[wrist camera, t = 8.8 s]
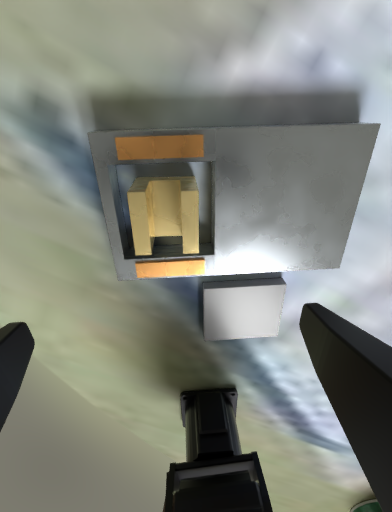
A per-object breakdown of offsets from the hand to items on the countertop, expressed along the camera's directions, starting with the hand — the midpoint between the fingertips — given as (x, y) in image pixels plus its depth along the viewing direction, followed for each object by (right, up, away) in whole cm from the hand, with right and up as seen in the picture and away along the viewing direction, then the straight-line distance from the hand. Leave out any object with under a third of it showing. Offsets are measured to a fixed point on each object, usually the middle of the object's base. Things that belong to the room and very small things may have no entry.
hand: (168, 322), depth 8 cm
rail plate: (+3, +6, +11) cm, 13 cm away
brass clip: (-1, +6, +10) cm, 12 cm away
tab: (+5, -3, +15) cm, 16 cm away
